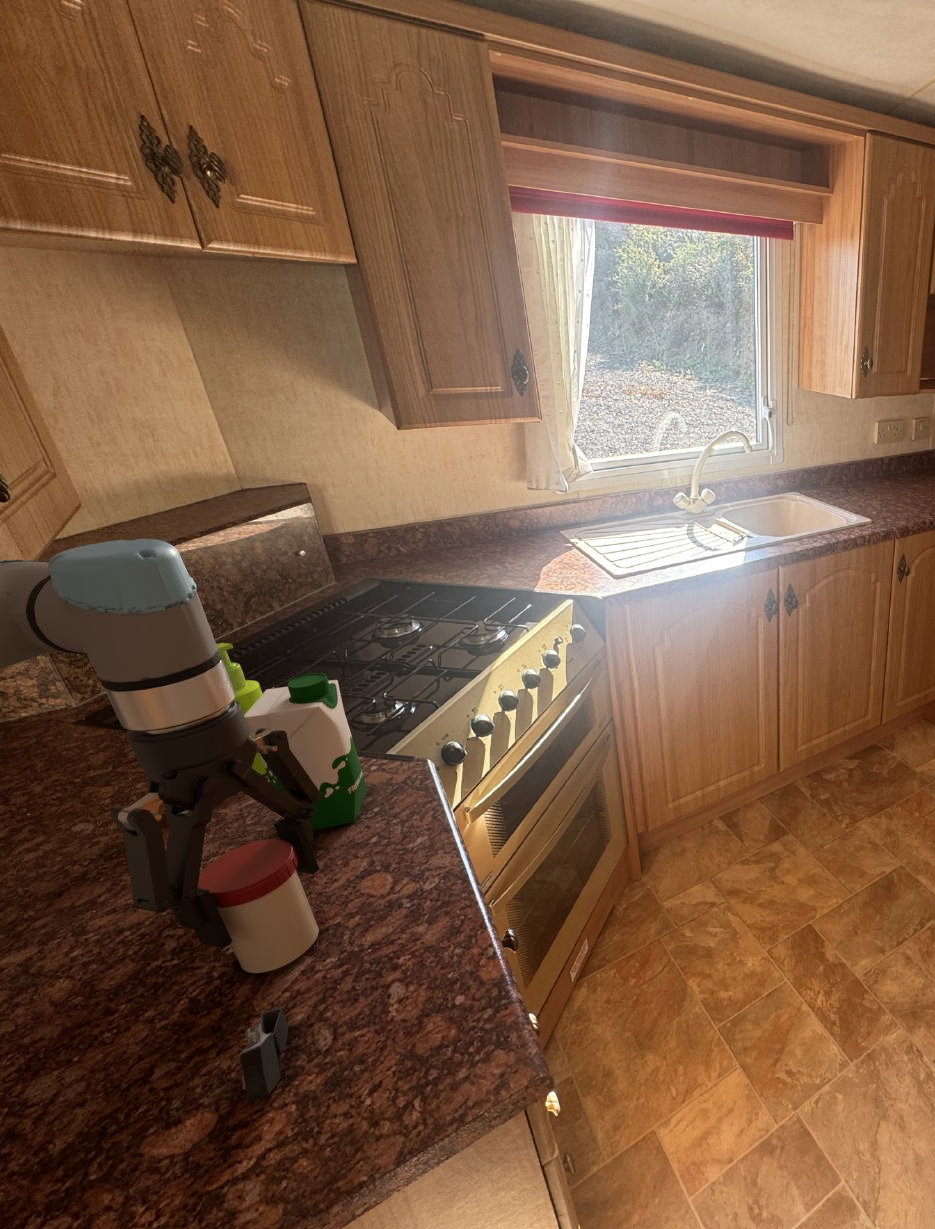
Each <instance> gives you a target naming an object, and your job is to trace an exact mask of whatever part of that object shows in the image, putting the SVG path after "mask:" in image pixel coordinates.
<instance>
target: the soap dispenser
mask: <svg viewBox="0 0 935 1229" xmlns="http://www.w3.org/2000/svg"><path fill="white" fill-rule="evenodd" d="M216 645H217V648H218V652H219V654H220V657H221V658H222V660H223V663H224V665H225V668H226V670H227V673H228V675H229V677H230V680H231V682H232V685H233V687H234V689H235V692H236V695H235V699H234V700H235V701H237V702H238V703H239V704H240V707H241V709H242V712H243V714H244V715H245V714H246V713H247V712H248V710H249V709H250V708H251V707H252V706H253V705H254V703H255V702H256V701H257V700H258V699H259V698H260V696H261V695H262V694H263V693H264V692H263V691H262V688H261V686H260V685H261V684H260V683H259V681H257V680H251V679H250V680H246V677H245V675H244V672H243V669H242V666H241V664H240V663H238V662H234V661H233V662H232V661H231V659H230V656H229V654H228V651H229V650H231V649H234V646H233V644H232V643H226V642H219V643H216ZM249 737H252V735H251V733H250V734H249ZM252 769H254V770H255V771H257V772H258V773H260V774H261V775H263V776H264V775H265V774H266V775H267V772H266V770H265V767H264V764H263V762H262V759H261V757H260V754H259V753H256V756H255V759H254V762H253V766H252Z"/></svg>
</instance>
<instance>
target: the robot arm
mask: <svg viewBox="0 0 935 1229" xmlns="http://www.w3.org/2000/svg"><path fill="white" fill-rule="evenodd" d="M185 565H186V564H185V562H184V561H183V559H182V556H181V554H180V552H179V550H178V549H177V548H176V547H175V546H173V545H172V544H171V543H169V542H167V541H164V540H160V539H153V538H137V539H117V540H110V541H104V542H97V543H91V544H85V545H82V546H81V545H80V546H77V547H73V548H70V549H69V548H68V549H66V550H64V551H63V550H62V551H61V552H58V553H56V554H54V555H53V556H52V557H51V558H50V559H49V560H48V562H46V561H45V562H44V561H43V562H42V561H37V560H33V559H29V560H23V559H3V560H0V670H3V669H4V668H9V667H11V666H13V665H17V664H19V663H22V662H26V661H28V660H31V659H34V658H37V657H40V656H43V655H47V654H52V653H61V654H73V655H74V654H75V655H87V657H88V659H89V661H90V663H91V665H92V667H93V669H94V671H95V673H96V675H97V677H98V678H99V681H100V684H101V686H102V687H103V689H104V692H105V694H106V696H107V698H108V700H109V702H110V704H111V706H112V709H113V710H114V713H115V714H116V717H117V719H118V721H119V724H120V726H121V727H122V728H124V729H125V730H127V732H126V739H127V741H128V743H129V746H130V747H131V750H132V752H133V754H134V756H135V758H136V760H137V762H138V764H139V766H140V768H141V769H142V771H144V773H145V774H146V775H147V778H148V787H147V793H146V795H144V796H142V797H141V798H140V799H138V800H137V801H135V802H133V803H132V804H131V805H129V806H125V805H119V806H117V807H115V808H114V809H113V810H112V811H111V812H110V819H111V820H112V822H113V823H114V825H115V826H116V827H117V828H118V829H119V830H120V832H121V833H122V838H123V843H124V852H125V858H126V863H127V868H128V874H129V880H130V887H131V892H132V893H131V894H132V900H133V906H134V908H136V909H139V910H142V911H143V910H144V911H150V912H154V913H166V912H167V911H169V910H171V912H172V915H173V916H174V918H175V920H176V922H177V924H178V925H179V926H181V927H182V928H188V929H192V930H194V932H195V934H196V936H197V939H198V940H199V942H200V944H201V945H207V946H212V947H217V948H223V949H225V948H227V947H228V946H229V945H231V944H230V943H231V942H233V941H232V939H231V937H230V935H229V932H228V930H227V928H226V926H225V924H224V922H223V920H222V917H221V915H220V913H219V911H218V909H217V907H216V904H215V902H214V900H213V898H212V896H211V894H210V892H209V890H206V889H201V888H198V881H199V876H200V874H201V866H202V859H203V858H202V857H203V852H204V851H203V850H204V845H205V844H204V843H205V838H206V830H207V825H208V824H210V823H211V821H212V819H213V812H214V809H215V808H217V807H219V806H220V805H221V804H222V803H223V802H224V801H225V800H227V799H228V798H230V797H233V796H236V795H238V794H239V793H241V792H242V793H243V794H245V796H246V795H247V796H248V797H250V798H251V799H253V800H254V801H256V802H258V803H259V804H261V805H262V806H264V807H265V808H267V809H268V810H270V811H272V812H274V813H275V814H276V815H278V816H280V817H283V818H279V819H278V820H276V821H275V822H273V826H274V829H275V831H276V834H277V836H278V839H281V840H285V841H287V842H289V843H290V844H291V845H292V848H293V850H294V851H295V853H296V856H297V858H298V861H297V862H298V864H297V868H296V871H297V873H300V874H308V875H313V876H314V875H315V874H316V873H318V872H319V871H320V867H319V864H318V862H317V858H316V856H315V854H314V850H313V848H312V845H311V843H310V841H312V840H314V830H312V828H311V826H310V823H309V819H311V818H312V817H313V816H314V813H315V811H314V809H311V808H309V807H310V806H311V805H312V804H313V803H317V802H319V801H320V799H321V797H322V795H321V793H320V791H319V790H318V788H317V787H316V785H315V784H314V783H313V781H312V780H311V778H310V777H309V775H308V774H307V773H306V771H305V770H304V768H303V767H302V765H301V764H300V763H299V761H298V760H297V758H296V757H295V756H294V754H293V753H292V751H291V750H290V747H289V742H288V737H287V733H286V732H285V731H283V730H275V729H266V728H260V729H259V730H257V732H256V734H255V736H253V737H249V734H250V730H249V727H248V725H247V722H246V719H245V717H244V714H243V712H242V709H241V707H240V704H239V703H238V702H237V701H235V700H234V699H235V695H236V692H235V689H234V687H233V685H232V682H231V680H230V677H229V675H228V673H227V670H226V668H225V665H224V663H223V660H222V658H221V657H220V654H219V652H218V648H217V645H216V644H217V643H216V640H215V637H214V634H213V631H212V628H211V626H210V623H209V621H208V617H207V614H206V612H205V610H204V607H203V603H202V601H201V599H200V596H199V593H198V590H197V589H198V587H197V584H196V581H194V578H193V577H191V575H190V574H189V572H188V570H187V568H186V566H185ZM256 753H260V755H261V757H262V758H263V760H264V761H265V762H266V764H267V765H268V766H269V768H270V769H271V770H272V772H273V773H274V774H275V776H276V777H277V778H278V780H279V781H280V783H281V784H282V785H283V787H284V788H285V789H286V791H287V792H288V793H289V795H290V796H291V797H290V796H289V795H287V794H286V793H284V792H283V791H281V790H280V789H278V788H277V787H275V786H274V785H272V784H271V783H270V781H268V780H269V778H267V777H266V776H264V774H263V775H261V774H260V773H258V772H257V771H255V770H254V769H252V766H253V762H254V759H255V756H256ZM162 804H166V805H167V806H166V807H167V808H166V815H165V821H166V822H167V824H168V825H169V826H168V834H167V841H166V846H165V839H164V833H163V829H162V827H161V825H160V821H161V820H163V815H162V814H161V813H160V808H161V806H162ZM192 811H193V812H192Z"/></svg>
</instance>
